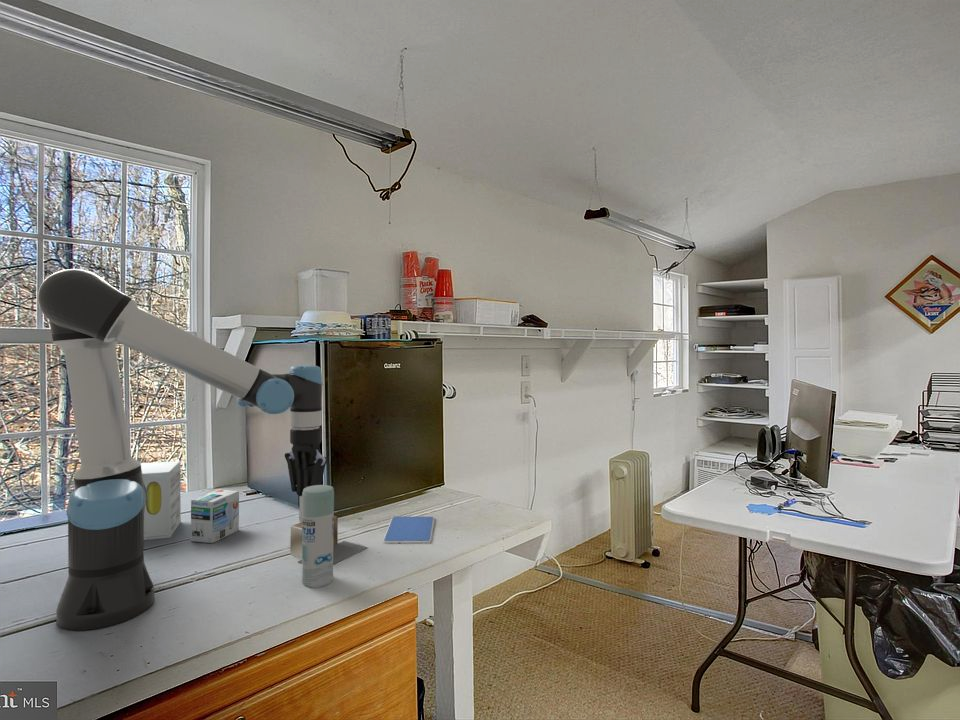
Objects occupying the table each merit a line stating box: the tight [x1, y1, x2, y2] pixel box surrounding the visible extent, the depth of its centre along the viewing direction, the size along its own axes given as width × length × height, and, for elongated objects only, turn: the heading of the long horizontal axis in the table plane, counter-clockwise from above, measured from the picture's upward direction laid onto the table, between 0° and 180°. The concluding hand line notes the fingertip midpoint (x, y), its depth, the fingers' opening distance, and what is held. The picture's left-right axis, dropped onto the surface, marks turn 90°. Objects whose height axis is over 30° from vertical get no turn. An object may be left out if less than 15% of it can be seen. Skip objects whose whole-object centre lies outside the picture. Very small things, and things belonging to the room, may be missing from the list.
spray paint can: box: [301, 484, 335, 589], centre depth 112 cm, size 6×6×20 cm
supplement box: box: [140, 460, 182, 541], centre depth 139 cm, size 13×13×18 cm
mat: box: [297, 540, 369, 566], centre depth 126 cm, size 15×8×1 cm, turn 150°
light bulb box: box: [190, 489, 240, 544], centre depth 138 cm, size 11×7×11 cm, turn 169°
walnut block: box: [289, 515, 339, 560], centre depth 129 cm, size 7×4×11 cm
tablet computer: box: [382, 516, 436, 545], centre depth 144 cm, size 19×13×1 cm, turn 2°
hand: (305, 521), depth 131 cm, fingers closed
